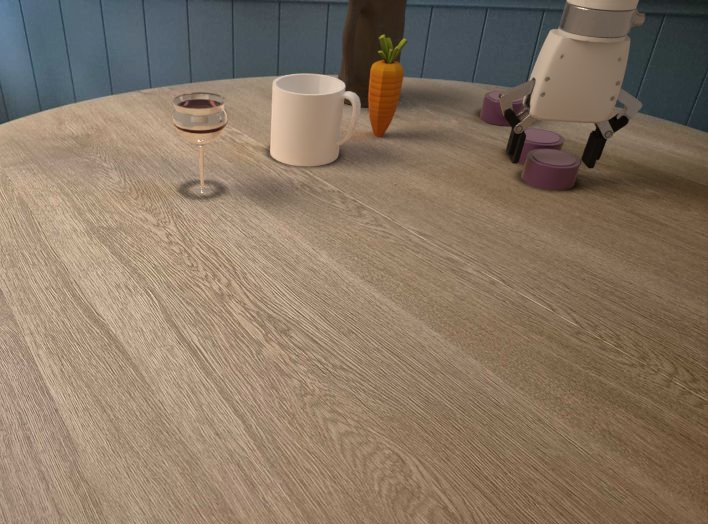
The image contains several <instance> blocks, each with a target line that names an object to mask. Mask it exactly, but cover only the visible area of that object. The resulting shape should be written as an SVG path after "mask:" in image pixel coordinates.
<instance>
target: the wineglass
mask: <svg viewBox="0 0 708 524" xmlns="http://www.w3.org/2000/svg"><path fill="white" fill-rule="evenodd" d="M227 102H228V99H227V97H226V96H224V95H223V94H219V93H216V92H210V91H191V92H185V93H181V94H178V95H176V96H174V97H173V98H172V99H171V103H172V105H173V106H174V109H173V111H172V116H171V118H172V124H173V126H174V129H175V131H176V133H178V134H179V135H180V136H181V138H183V139H184V140H185V141H186V142H188V143H192V144H193V145H194V146H195V147H196V148H197V154H198V167H199V179H200V186H197V187H195V188H194V192H196V193H197V194H207V193H209V192H210V191H211V188H210V187H209V186H205V148H206V147H207V146H208V143H211V142H214V141H216V140H218V138H219V137H220V136H221V135H222V134H223V133H224V131H225V130H226V128H227V125H228V122H229V121H228V118H229V116H228V112H227V110H226V108H225V107H226V104H227Z"/></svg>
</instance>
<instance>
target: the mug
mask: <svg viewBox="0 0 708 524" xmlns="http://www.w3.org/2000/svg"><path fill="white" fill-rule="evenodd" d="M271 89H272V90H271V116H270V117H271V120H270V121H271V122H270V145H269V147H270V149H269V153H270V154H269V155H270V156H271V158H273V160H276V161H277V162H280V163H282V164H285V165H291V166H295V167H319V166H325V165H328V164H330V163H333V162H334V161H336V160H337V159H338V157H339V155H340V154H339V153H340V146H341V145H343V144H345V143H346V142H348V141H349V140H350V139H351V138H352V136H353V135H354V133H355V131H356V128H357V126H358V123H359V120H360V115H361V108H362V107H361V103H360V99H359V97H358V96H357V95H356V94H355V93H353V92H350V91H345V83H344V82H343V81H341V80H339V79H338V77H334V76H331V75H326V74H320V73H319V74H318V73H292V74H285V75H281V76H278V77H277V78H275V79H273V81H272V88H271ZM344 98H345V99H348V100H349V101H350V102H351V103H352V105H351V108H352V114H351V119H350V122H349V123H350V124H349V126H348V128H347V130H346V132H345V133H344V135H342V134H341V133H342V124H343V114H344V104H345V103H344ZM341 135H342V136H341Z"/></svg>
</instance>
